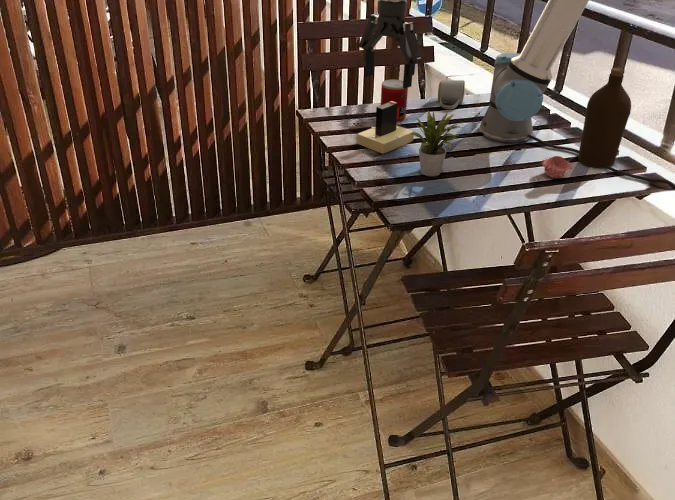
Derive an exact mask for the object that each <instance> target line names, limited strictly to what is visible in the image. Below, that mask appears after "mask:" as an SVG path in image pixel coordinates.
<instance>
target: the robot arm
mask: <svg viewBox="0 0 675 500" xmlns="http://www.w3.org/2000/svg"><path fill="white" fill-rule="evenodd" d="M589 2H590V0H548V1H547V3H546V4H545V7H544V9H542V12H541V14H540V16H539V18H538V20H537V22H536V24H535V25H534V27H533V29H532V31H531V33H530V35H529V37H528V39H527V41H526V42H525V45H524V46H523V48H522V50H521V52H520V53H517V52H504V53H499V54H497V56H496V57H495V62H494V63H493V67H494V68H493V74H492V75H493V76H492V81H491V82H492V83H491V89H490V97H489V104H488V107H487V109H486V110H485V114H484V115H483V117H482V119H481V121H480V125H479V130H478V131H479V133H480V135H481V136H483V137H484V138H486V139H488V140H491V141H494V142H499V143H505V144H506V143H509V144H517V143H522V142H527V141H529V140H530V139H531V140H533V141H535V142H538V143H540V144H541V145H543V146H545V147H548V148H551V149H556V150H560V151H561V150H563V151H569V152H572V153H575V154H579V149H577V148H573V147H568V146H567V147H566V146H562V145H554V144H551V143H549V142H546V141H544V140H543V139H540V138H538V137H537V136H535V135H533V132H534V125H533V121H532V118H533V117H535V116H536V115H537V114H538V112H539V111H540V110H541V108H542V106H543V102H544V94H545V92H546V91H547V89H548V87H549V85H550V84H551V82H552V80H553V78H554V77H553V73H552V68H553V66H554V64H555V62H556V61H557V59H558V57H559V55H560V53H561V51H562V50H563V48H564V46H565V44H566V42H567V41H568V39H569V37H570V36H571V34H572V32H573V30H574V28H575V26H576V25H577V23H578V21H579V19H580V17H581V16H582V14H583V12H584V10H585V8H586V7H587V5H588V3H589ZM407 11H408V1H407V0H377V6H376V13H373V14H369V15H368V18H367V19H368V20H367V24H366V26H365V29H364V31H363V33H362V35H361V38H360V41H359V42H358V47H359V49H362V51H363V56H364V57H363V63H364V64H365V69H364V77H370V76H374V72H375V56H376V55H375V53H376V52H375V50H374V48H375V47H376V46H377V44H378V43H379V41H381V39H382V38H383V37H388V38H391V39H393V40H394V41H396V42H397V45H398V46H399V49H400V50H401V53H402V55H403V57H404V59H405V61H406V62H405V63H403V64H404V65H403V78H402V79H403V80H402V81H403V88H404V89H405V88H408V89H409V88H411V87H412V85H413V84H412V83H413V76H415V73H416V64H417V63H420V62H422V61H423V55H422V52H421V48H420V45H419V40H418V39H417V34H416V24H415V22H414V21H411V22H406V20H405V18H406V15H407ZM377 25H378V27H377ZM376 27H377V29H376ZM603 169H607V170H609V171H611V172H613V173H616V174H619V175H621V176H625V177H629V178H632V179H637V180H640V181H645V182H651V183H662V184H666V185H668V186H670V187H671V188H672V189H673V190H674V191H675V184H674V182H672V181H670V180H668V179H665V178H664V179H663V178H650V177H646V176H641V175H638V174H634V173H629V172H626V171H622V170H619V169H617V168H615V167H613V166H611V167H610V166H608V165H604V168H603Z"/></svg>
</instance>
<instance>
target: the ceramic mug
mask: <svg viewBox="0 0 675 500" xmlns="http://www.w3.org/2000/svg"><path fill="white" fill-rule="evenodd" d="M465 87H466V82H465V80H464V79H456V80H455V79H445V80H440V82H439V83H438V89H437V101H438V102H439V105H440V107H441V108H442V109H444V110H454V109H456V108H457V107H458V105H459V106H462V105H463V103H464V100H465V99H464V98H465ZM446 104H449V105H446Z"/></svg>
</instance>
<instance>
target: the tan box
mask: <svg viewBox="0 0 675 500" xmlns="http://www.w3.org/2000/svg"><path fill="white" fill-rule="evenodd" d="M412 132H415V131H413V130H411V129H408V128H406V127H402V126H400V125H397V124H396V131H393V132H391V133H388V134H386V135H383V136H378V135H376V134H375V126H371V128H369V129H366V130H363V131H360V132H358V133H357V134H356V144H357V145H359V146H362V147H364V148H367V149H369V150H371V151H375V152H377V153H380V154H382V155H384V154H386V153H389V152H391V151H393V150H395V149H398V148H400V147H403V146H406V145H407V144H411V143H412V142H414V135H412V134H410V133H412Z"/></svg>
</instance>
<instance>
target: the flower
mask: <svg viewBox="0 0 675 500" xmlns="http://www.w3.org/2000/svg"><path fill="white" fill-rule="evenodd" d="M541 165H542V166H543V167H544V169H543V170H544V172H545V173H546V174H545V175H546V176H548V177H550V178H552V179H558V178H561V177H563V176H565V174H566V173H567V172H568V171H570V170H571V169H573V168H574V165H573V163H570V161H567V160H566V159H565V158H564V157H562V156H560V155H554V156H551V157H548V158H546V157H545V158H544V159H541Z"/></svg>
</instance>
